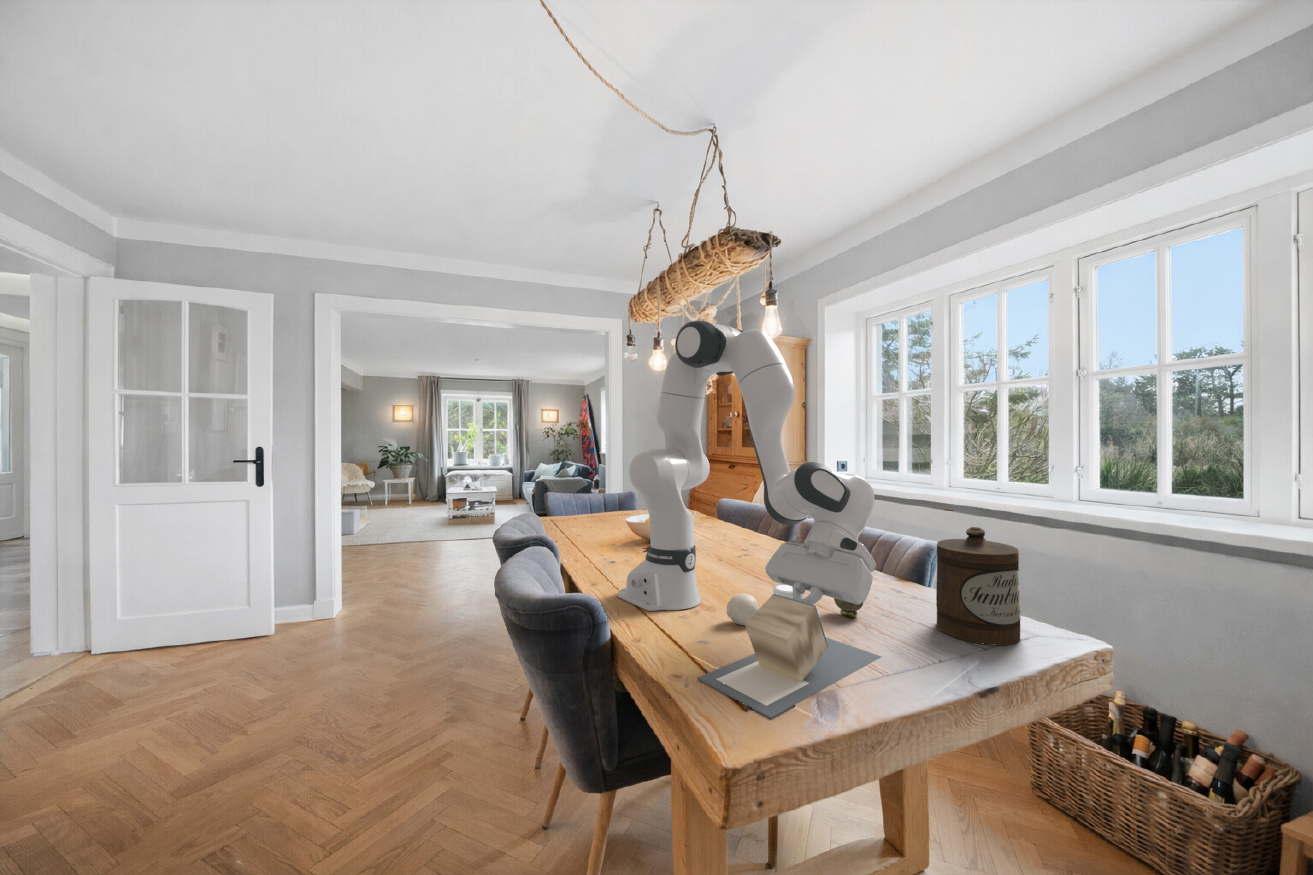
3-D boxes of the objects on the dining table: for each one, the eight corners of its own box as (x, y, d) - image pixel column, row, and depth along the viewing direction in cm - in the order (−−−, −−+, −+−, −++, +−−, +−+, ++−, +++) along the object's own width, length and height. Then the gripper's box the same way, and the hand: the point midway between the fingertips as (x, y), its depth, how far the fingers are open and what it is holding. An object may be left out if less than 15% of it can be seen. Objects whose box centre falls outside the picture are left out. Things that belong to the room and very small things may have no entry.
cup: (863, 623, 110) (863, 587, 110) (829, 618, 114) (828, 583, 114) (868, 613, 117) (867, 579, 117) (835, 608, 120) (834, 575, 120)
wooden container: (980, 650, 96) (979, 536, 96) (921, 623, 110) (919, 523, 110) (1039, 640, 100) (1037, 531, 100) (974, 615, 114) (972, 519, 114)
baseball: (721, 620, 114) (721, 591, 114) (751, 617, 115) (751, 588, 115) (733, 631, 107) (732, 600, 107) (764, 628, 109) (764, 597, 109)
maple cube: (773, 593, 94) (744, 624, 88) (815, 605, 87) (786, 639, 81) (786, 632, 96) (759, 664, 91) (828, 647, 89) (801, 682, 84)
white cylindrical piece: (805, 624, 111) (805, 592, 111) (773, 622, 112) (773, 591, 112) (803, 613, 117) (802, 583, 117) (772, 612, 119) (772, 582, 119)
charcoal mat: (808, 632, 106) (808, 631, 106) (881, 658, 93) (881, 656, 93) (697, 679, 86) (697, 677, 86) (771, 719, 74) (771, 717, 74)
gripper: (777, 530, 104) (746, 586, 98) (871, 546, 88) (841, 614, 82) (791, 548, 107) (761, 604, 101) (885, 567, 90) (856, 635, 84)
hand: (798, 609), depth 91 cm, fingers closed
